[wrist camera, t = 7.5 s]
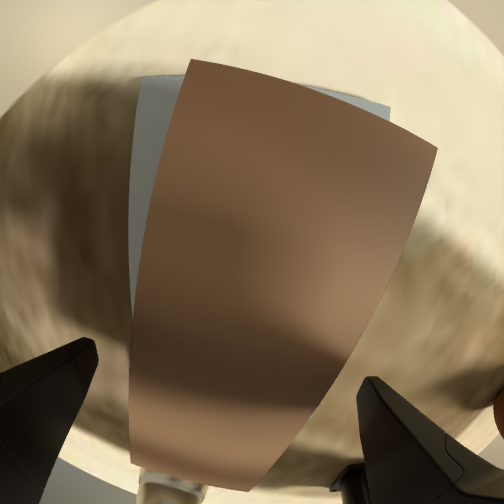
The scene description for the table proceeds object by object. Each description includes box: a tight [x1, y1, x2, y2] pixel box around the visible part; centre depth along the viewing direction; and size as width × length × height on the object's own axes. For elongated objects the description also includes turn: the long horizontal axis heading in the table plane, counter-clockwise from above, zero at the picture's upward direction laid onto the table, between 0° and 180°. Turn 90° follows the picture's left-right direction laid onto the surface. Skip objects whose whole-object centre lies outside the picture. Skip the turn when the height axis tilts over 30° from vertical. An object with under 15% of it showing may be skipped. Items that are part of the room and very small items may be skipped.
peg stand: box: [128, 75, 390, 419], centre depth 13 cm, size 20×12×5 cm, turn 173°
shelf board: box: [129, 59, 438, 492], centre depth 9 cm, size 16×6×3 cm, turn 163°
